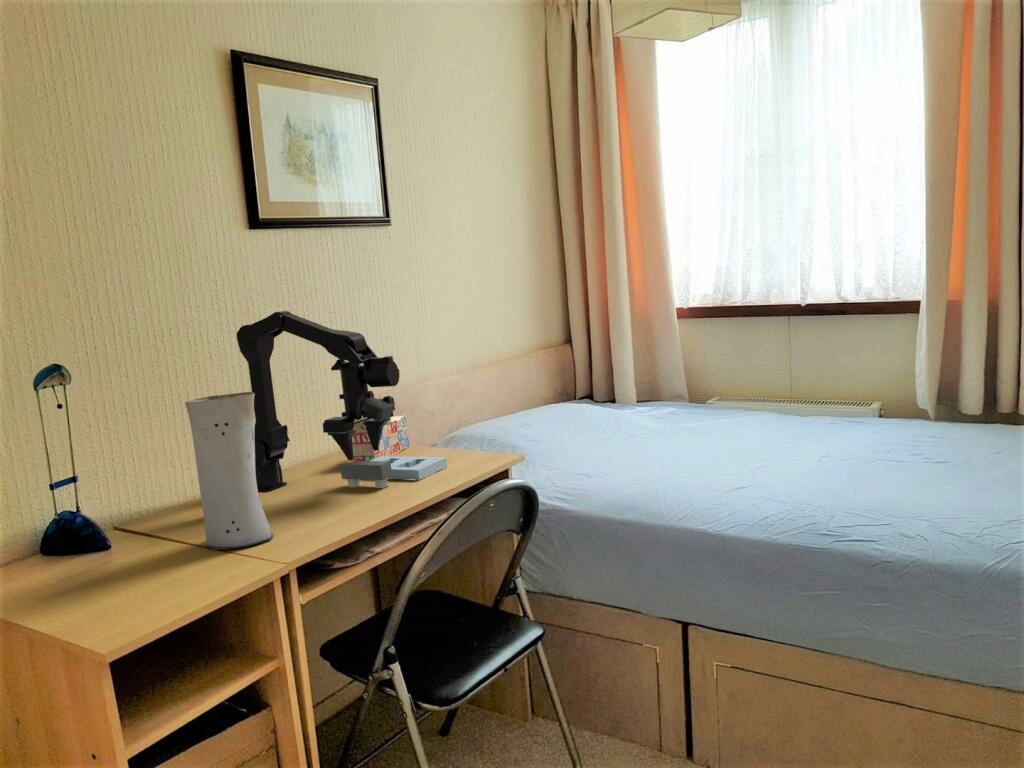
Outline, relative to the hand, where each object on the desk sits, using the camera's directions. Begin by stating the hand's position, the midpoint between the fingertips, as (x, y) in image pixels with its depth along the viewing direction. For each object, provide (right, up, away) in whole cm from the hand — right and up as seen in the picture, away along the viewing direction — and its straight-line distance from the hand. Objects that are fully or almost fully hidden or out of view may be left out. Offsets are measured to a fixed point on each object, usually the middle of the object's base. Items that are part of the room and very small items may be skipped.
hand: (363, 455), depth 179 cm
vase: (-17, -14, -30) cm, 37 cm away
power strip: (+1, -7, +1) cm, 8 cm away
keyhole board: (+7, -5, +12) cm, 15 cm away
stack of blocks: (-1, -4, +33) cm, 34 cm away
